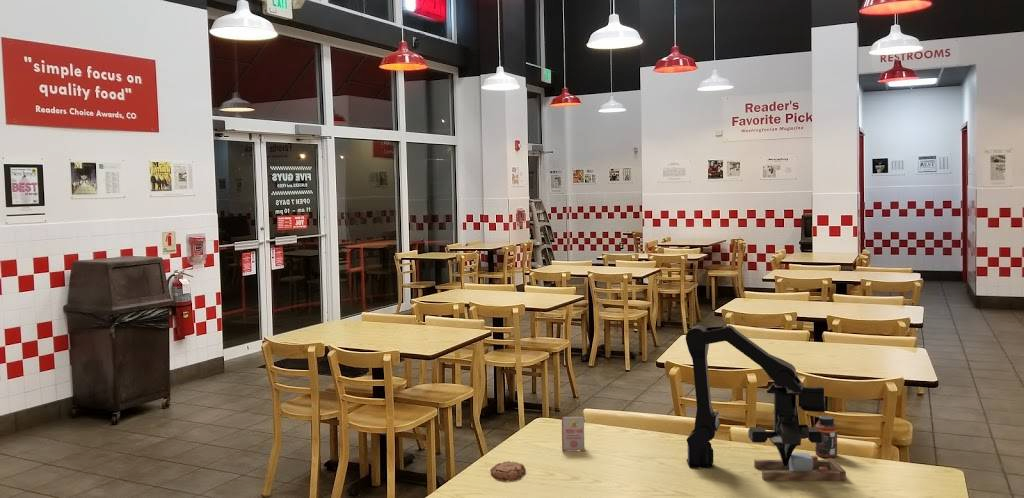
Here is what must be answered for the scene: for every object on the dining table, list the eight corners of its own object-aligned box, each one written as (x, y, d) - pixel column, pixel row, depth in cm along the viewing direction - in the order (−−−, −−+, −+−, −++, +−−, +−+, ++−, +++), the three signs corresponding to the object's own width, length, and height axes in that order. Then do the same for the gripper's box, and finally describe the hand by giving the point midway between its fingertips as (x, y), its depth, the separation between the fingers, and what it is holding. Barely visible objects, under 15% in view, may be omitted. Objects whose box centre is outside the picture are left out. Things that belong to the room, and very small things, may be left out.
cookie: (494, 483, 216) (494, 472, 216) (488, 470, 227) (487, 460, 227) (530, 480, 218) (529, 469, 218) (522, 467, 229) (522, 457, 229)
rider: (793, 476, 216) (793, 458, 215) (789, 470, 221) (789, 452, 220) (812, 476, 215) (812, 458, 215) (807, 470, 220) (807, 452, 220)
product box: (562, 447, 246) (561, 415, 246) (584, 447, 246) (583, 415, 245) (562, 450, 242) (561, 418, 242) (584, 451, 242) (583, 418, 241)
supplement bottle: (839, 459, 230) (839, 420, 229) (817, 458, 231) (817, 419, 230) (835, 452, 235) (835, 414, 235) (813, 451, 237) (813, 414, 236)
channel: (763, 480, 214) (763, 468, 213) (754, 466, 224) (754, 455, 224) (845, 480, 212) (845, 468, 212) (832, 467, 223) (832, 455, 223)
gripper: (756, 417, 210) (757, 475, 211) (829, 417, 209) (829, 475, 209) (747, 406, 221) (748, 461, 222) (816, 406, 220) (816, 462, 221)
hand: (785, 465), depth 218 cm, fingers closed
